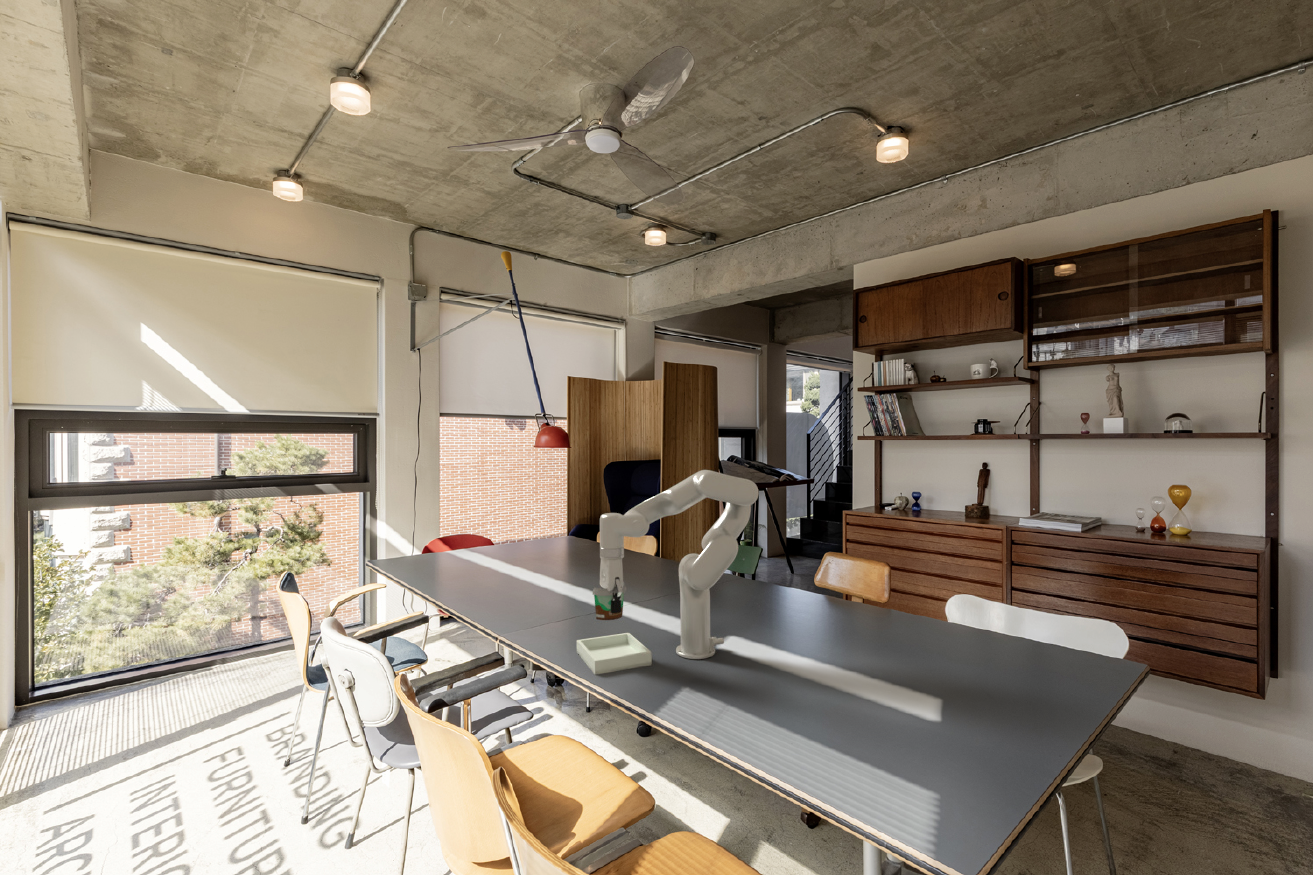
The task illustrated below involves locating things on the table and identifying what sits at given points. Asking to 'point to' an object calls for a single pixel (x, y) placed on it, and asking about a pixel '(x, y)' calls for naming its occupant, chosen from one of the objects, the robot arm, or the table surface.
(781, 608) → the table surface
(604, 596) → the food container
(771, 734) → the table surface
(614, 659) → the tray
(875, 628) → the table surface
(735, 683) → the table surface
